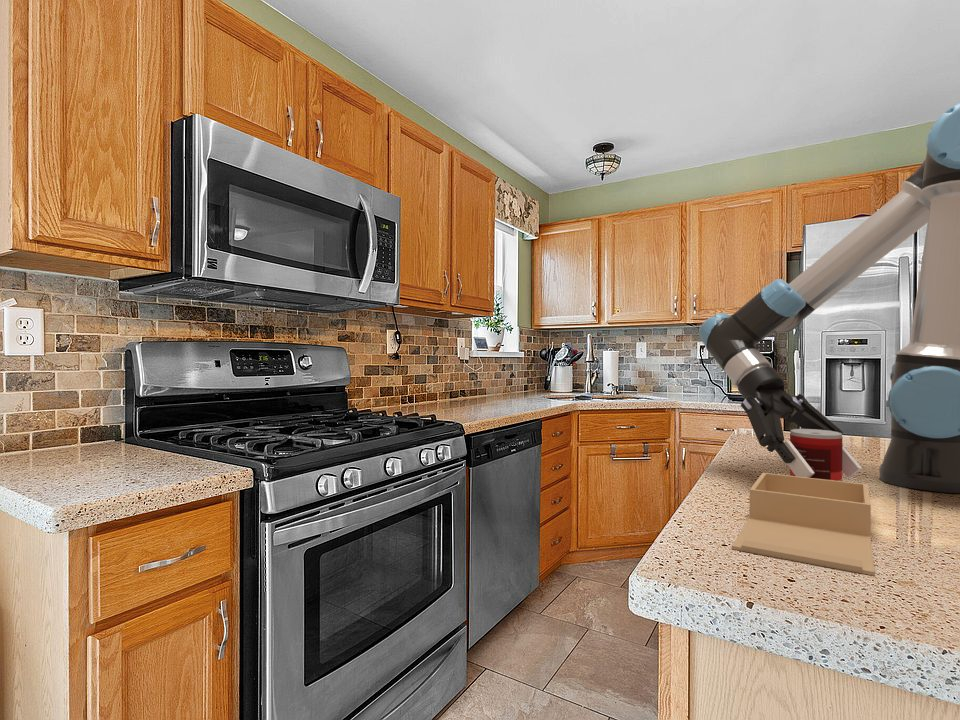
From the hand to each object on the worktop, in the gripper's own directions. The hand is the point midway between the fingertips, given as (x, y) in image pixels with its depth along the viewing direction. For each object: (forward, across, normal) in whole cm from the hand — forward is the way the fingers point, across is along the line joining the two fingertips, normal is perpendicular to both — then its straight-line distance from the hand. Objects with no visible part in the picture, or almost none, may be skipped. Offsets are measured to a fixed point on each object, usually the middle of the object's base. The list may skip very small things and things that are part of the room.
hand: (831, 475), depth 90 cm
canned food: (+1, 0, -5) cm, 5 cm away
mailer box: (+10, +18, +4) cm, 21 cm away
